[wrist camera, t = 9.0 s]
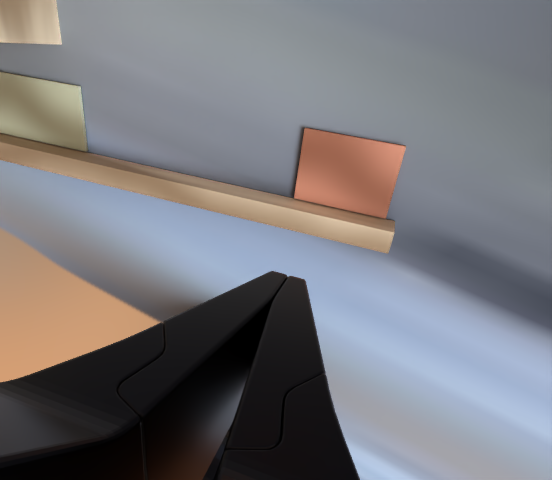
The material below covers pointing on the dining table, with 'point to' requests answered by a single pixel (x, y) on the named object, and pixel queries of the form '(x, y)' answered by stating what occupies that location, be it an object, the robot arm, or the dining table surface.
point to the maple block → (29, 22)
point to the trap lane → (203, 192)
